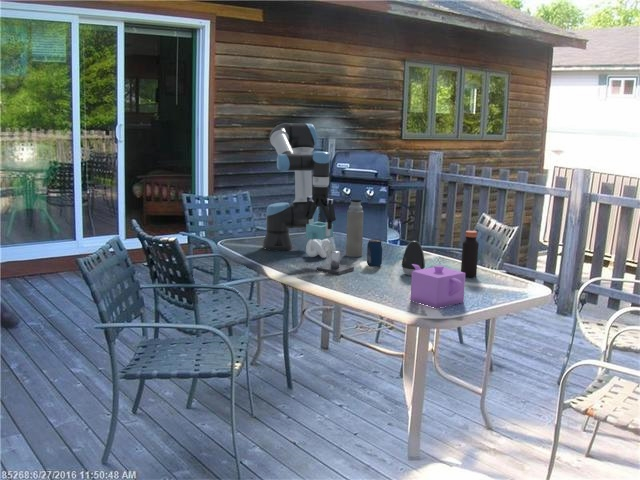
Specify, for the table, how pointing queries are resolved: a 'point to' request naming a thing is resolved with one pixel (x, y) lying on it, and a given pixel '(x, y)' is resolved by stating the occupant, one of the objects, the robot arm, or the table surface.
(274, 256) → the table surface
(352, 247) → the thermos bottle
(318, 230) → the teal rectangular planter
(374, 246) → the soda can
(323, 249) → the white coiled rope
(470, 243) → the black water bottle
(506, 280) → the table surface
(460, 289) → the teapot
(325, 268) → the post base
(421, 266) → the egg shaped speaker
